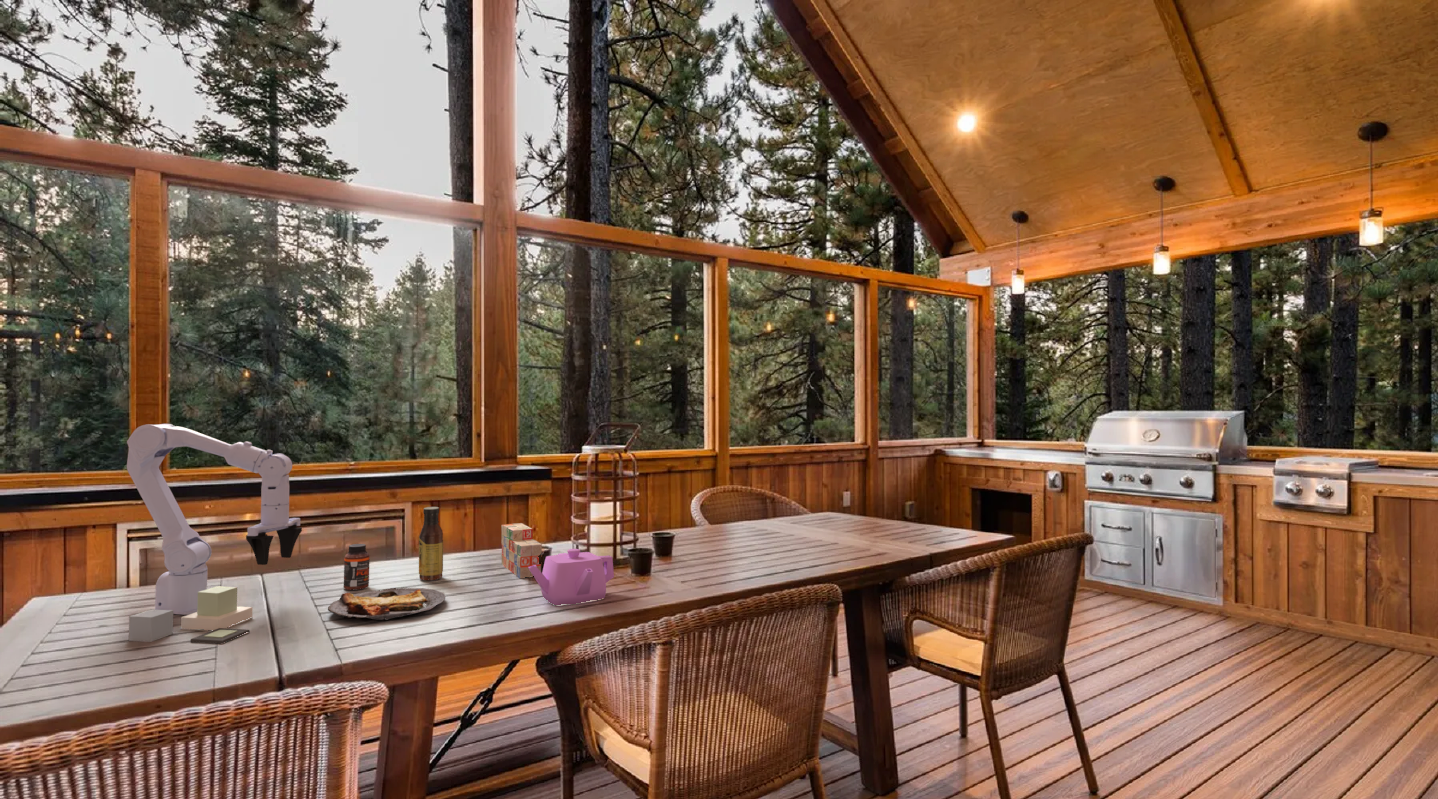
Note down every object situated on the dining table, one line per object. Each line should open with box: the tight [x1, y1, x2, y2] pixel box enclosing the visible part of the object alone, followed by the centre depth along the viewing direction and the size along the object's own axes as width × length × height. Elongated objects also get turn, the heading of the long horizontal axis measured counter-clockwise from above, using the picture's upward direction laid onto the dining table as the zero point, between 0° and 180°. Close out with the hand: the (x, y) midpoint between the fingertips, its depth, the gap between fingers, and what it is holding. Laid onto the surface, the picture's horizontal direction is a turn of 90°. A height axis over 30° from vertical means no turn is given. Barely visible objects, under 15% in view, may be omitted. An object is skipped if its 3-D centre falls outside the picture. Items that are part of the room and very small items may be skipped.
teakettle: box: [528, 548, 615, 605], centre depth 177 cm, size 17×17×12 cm
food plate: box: [327, 586, 446, 621], centre depth 166 cm, size 25×23×4 cm
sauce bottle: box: [418, 506, 444, 582], centre depth 194 cm, size 6×6×20 cm
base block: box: [180, 605, 253, 631], centre depth 154 cm, size 9×9×3 cm
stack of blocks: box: [500, 522, 543, 579], centre depth 206 cm, size 21×6×12 cm, turn 31°
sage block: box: [197, 585, 238, 616], centre depth 153 cm, size 5×5×5 cm
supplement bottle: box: [343, 543, 371, 591], centre depth 184 cm, size 6×6×11 cm
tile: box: [190, 628, 250, 644], centre depth 145 cm, size 7×7×1 cm
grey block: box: [128, 608, 174, 643], centre depth 144 cm, size 5×5×5 cm
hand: (274, 560), depth 169 cm, fingers open, 7 cm apart
